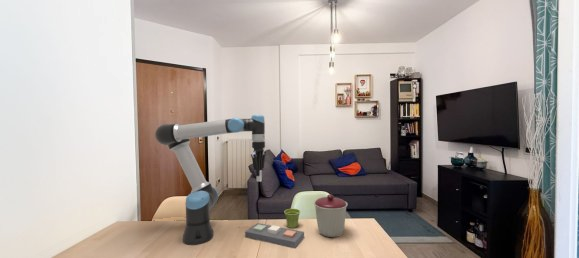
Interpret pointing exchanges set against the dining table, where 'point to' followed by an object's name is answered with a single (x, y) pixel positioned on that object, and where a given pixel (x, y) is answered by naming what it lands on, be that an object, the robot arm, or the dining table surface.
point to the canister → (330, 215)
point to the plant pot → (292, 217)
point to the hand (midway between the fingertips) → (259, 181)
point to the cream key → (274, 229)
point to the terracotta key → (289, 233)
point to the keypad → (275, 236)
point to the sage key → (259, 228)
